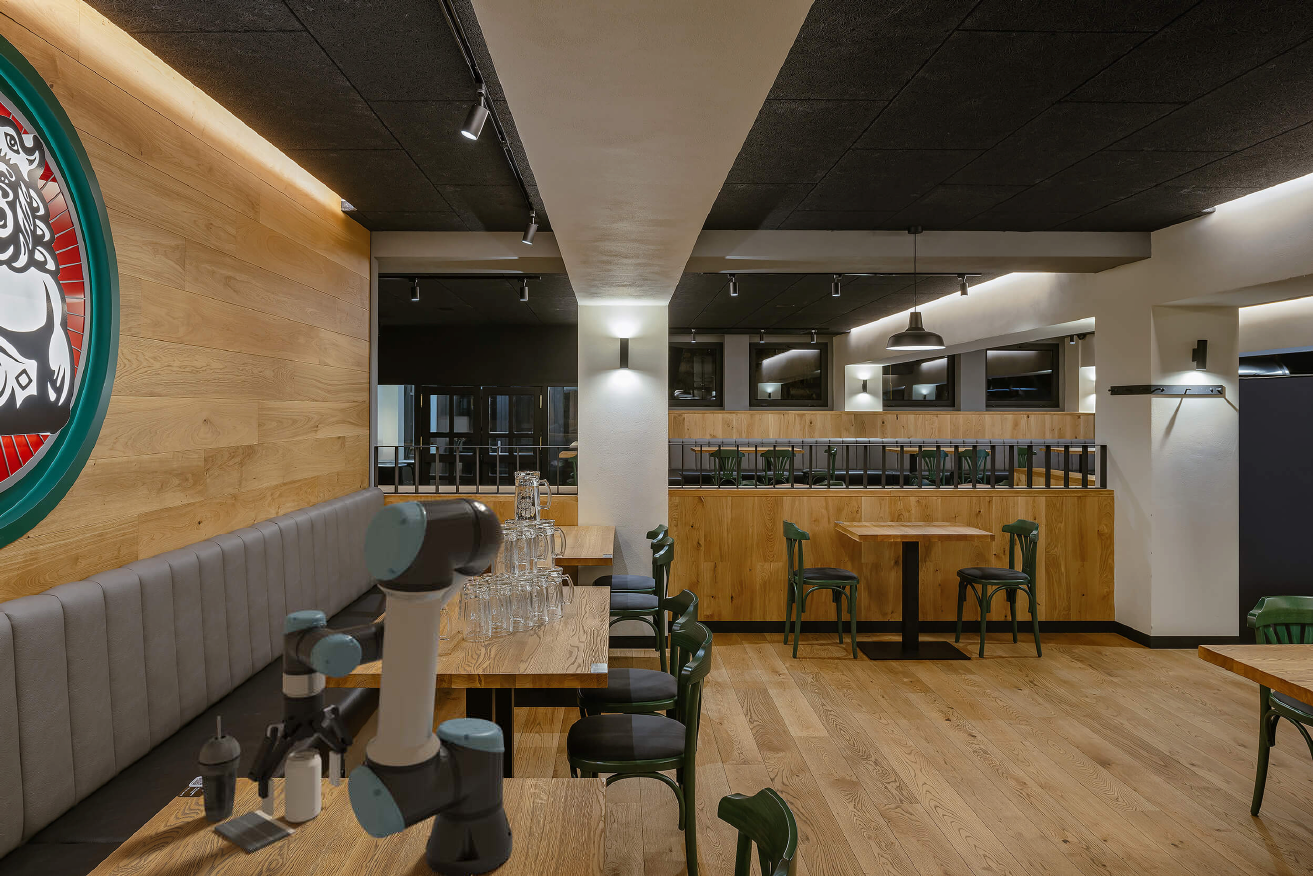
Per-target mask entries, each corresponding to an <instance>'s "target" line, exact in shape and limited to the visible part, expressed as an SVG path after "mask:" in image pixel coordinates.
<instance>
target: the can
mask: <svg viewBox="0 0 1313 876" xmlns="http://www.w3.org/2000/svg"><path fill="white" fill-rule="evenodd" d="M321 810H322V757H321V756H320V751H319V750H318V749H316V748H301V749H298V750H297V749H296V750H295V751H292V752H291V753H289V754H288V755H287V760H286V762H285V765H284V819H285V821H287V822H289V823H292V824H300V823H301V824H302V823H305V822H308V821H312V820H314V819H315V818H317V817H318V815H319V814H320V813H321Z"/></svg>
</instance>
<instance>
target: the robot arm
mask: <svg viewBox="0 0 1313 876" xmlns="http://www.w3.org/2000/svg"><path fill="white" fill-rule="evenodd" d="M503 536H504V535H503V529H502V524H501V521H500V519H499V517H498V514H496V512H495V511H493V509H492V508H491V507H489V505H487V504H486V503H484V502H482V501H481V500H477V499H474V498H470V497H457V498H450V499H449V498H447V499H430V500H429V499H426V500H407V501H404V502H397V503H396V502H395V503H390V504H387V505H385V506H382V507H381V508H380V509H378V511H377V512H376V513H375V514H374V515H373V516H372V518H371V520H370V522H369V524H368V526H367V528H366V532H365V535H364V540H363V541H364V542H363V557H364V558H365V560H366V561H365V567H366V568H367V571H368V573H369V574H370V575H371V576H372V577H373V578H375V579H377V583H376V584H377V587H378V588H379V589H380V590H381V591H383V593H384V594H385V595H386V596H385V597H386V599H385V600H386V601H385V611H384V612H385V613H384V616H383V618H382V619H381V620H378V621H375V622H370V623H366V624H365V623H364V624H361V625H357V626H356V625H355V626H351V627H347V628H341V629H337V630H332V629H329V628H327V624H328V623H327V620H326V619H327V618H326V614H325V613H324V612H323V611H321V610H316V609H315V610H311V609H310V610H309V609H308V610H300V611H296V612H291V613H289V614H288V615H286V616H285V618H284V619H283V620H284V621H283V632H282V639H283V640H282V644H283V645H282V646H283V647H282V652H283V653H282V666H283V667H282V668H283V670H282V692H283V693H284V694H283V695H282V701H281V702H282V706H281V707H282V710H281V711H282V720H281V723H278V724H272V723H269V724H268V723H267V724H266V726H265V729H264V737H263V739H262V742H261V744H260V746H259V749H258V750H257V753H256V755H255V758H254V759H253V762H252V764H251V766H250V769H249V770H248V772H247V776H246V778H247V779H248V780H250V781H251V782H253V783H257V795H258V797H259V798H261V800H262V802H261V803H262V805H261V811H262V812H264V813H265V814H267V815H269V816H271V817H272V816H273V815H274V813H275V812H274V810H275V809H274V808H275V807H274V805H275V801H274V800H275V798H274V797H275V779H273V778H272V777H273V775H274V773H275V771H276V770H277V769H278V768H279V765H280V764H281V763H282V761H283V759H284V758H285V756H286V755H287V753H288V752H289V750H290V749H291V748H292V747H294V746H295V745H296V743H297V742H298V743H300V742H302V741H304V740H305V739H310V738H313V737H314V735H317V736H318V737H319V738H320V739H322V740H323V741H324V742H325V743H326V744H327V745H329V746H330V748H332V749H333V750H331V751H329V765H328V766H329V768H328V769H329V772H328V773H329V774H328V777H329V778H328V780H329V781H328V783H329V785H331V786H333V787H336V788H338V787H340V786H341V768H343V767H344V765H345V762H344V759H345V756H344V755H345V754H346V753H347V752H348V748H349V747H352V746H354V741H353V739H352V737H351V735H350V733H349V731H348V729H347V727H346V725H345V724H344V722H343V720H342V718H341V714H340V708H339V707H338V706H336V705H333V704H331V703H330V704H328V705H327V706H326V708H325V704H326V703H325V700H326V698H325V697H326V696H325V695H326V692H325V689H324V688H325V687H326V676H327V677H331V678H338V679H339V678H343V677H347V676H348V675H350V674H351V673H352V672H353V671H355V670H356V669H357V668H358V667H360V666H363V665H368V664H370V663H371V664H372V663H374V662H380V661H381V670H380V671H381V672H380V688H379V702H378V714H377V716H378V717H377V728H376V729H377V732H376V735H375V736H374V737H373V738H372V739H370V741H368V743H367V745H366V749H365V758H364V760H365V762H364V764H359V765H357V766H356V767H355V768H353V769H352V771H351V772H350V773H349V776H348V781H347V789H348V791H347V792H348V798H349V802H350V805H351V808H352V811H353V814H354V816H355V818H356V820H357V822H358V823H359V825H360V827H361V828H362V829H363V831H365V832H366V833H367V834H368V836H371V837H372V838H375V839H385V838H387V837H390V836H392V835H394V834H395V835H396V834H398V833H399V834H401V833H403V832H404V831H405V830H407V829H409V828H411V827H413V826H415V825H417V824H420V823H421V822H423V821H427V820H428V819H431V818H433V817H435V818H433V819H434V820H433V824H432V827H431V832H430V835H429V836H428V839H427V841H426V845H425V863H426V865H427V867H428V868H429V869H430V870H431V871H432V872H434V873H436V874H438V875H441V876H471V875H476V876H478V875H477V874H480V875H483V874H485V872H486V873H488V871H489V872H491V871H493V870H494V869H497V868H498V867H500V866H501V865H502V864H501V863H503V862H504V861H505V862H506V861H507V860H508V859H509V858H510V856H511V855H510V854H512V852H513V833H512V830H511V827H510V824H509V820H508V816H507V814H506V810H505V808H504V754H505V747H504V734H503V730H502V729H501V727H500V726H499V725H498V724H497V723H495V722H493V721H489V720H485V719H481V718H471V717H466V718H465V717H464V718H453V719H450V720H448V719H447V720H445V721H443V722H441V723H440V724H439V726H438V727H437V728H436V732H435V733H434V732H433V725H434V724H433V723H434V721H433V720H434V711H435V710H434V708H435V699H436V698H435V695H436V685H437V684H436V683H437V670H438V658H439V657H438V654H439V643H440V642H439V641H440V628H441V616H442V615H441V614H442V610H443V609H444V608H445V607H446V606H447V604H448V603H450V601H451V600H452V599H453V598H454V597H455V596H456V594H457V593H458V592H460V590H461V589H462V588H463V587H464V586H465V585H466V584H467V582H468V581H469V580H470V579H471V578H475V577H478V576H480V575H482V574H483V573H484V572H485V571H486V570H487V569H488V568H489V567H490V565H492V564H493V562H494V561H495V559H496V558H497V556H498V554H499V553H500V550H501V548H502V543H503ZM326 718H327V720H328V721H329V723H330V724H331V726H332V728H333V730H334V731H335V733H336V735H337V737H338V739H339V740H338V739H337V738H335V737H334V736H333V734H331V733H330V732H329V731H328V730H327V729H326V728H325V727H324V726H323V724H322V723H323V721H324V720H325V719H326ZM281 732H283V733H282V734H281ZM278 737H279V739H278ZM277 741H278V743H277ZM506 859H507V860H506ZM505 862H504V863H505ZM504 863H503V864H504ZM500 864H501V865H500ZM499 865H500V866H499ZM496 867H497V868H496ZM492 869H493V870H492ZM490 870H491V871H490ZM482 873H483V874H482Z"/></svg>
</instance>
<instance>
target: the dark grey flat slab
mask: <svg viewBox="0 0 1313 876" xmlns="http://www.w3.org/2000/svg"><path fill="white" fill-rule="evenodd" d="M214 831H215V832H217V833H219V834H220V835H221V836H223V837H225V838H226V839H228V840H229V841H231V842H232V843H234V844H235V845H237V846H239V847H240V848H241V849H243V850H245V851H246V852H248V853H250V854H253V853H254V852H257V851H259V850H260V849H263V848H265V847H267V846H270V845H273V844H274V843H276V842H279V841H281V840H283V839H285V838H287V837H289V836H291V835H294V834H296V833H297V830H294V829H293V828H291V827H290V826H288V825H286V824H285V823H283V822H281V821H279V820H278V819H276V818H274V817H272V815H271V816H269V815H267V814H266V813H264V812H262V810H260V809H257V810H255V811H248V812H247V813H244V814H243V815H239V816H237V817H235V818H232V819H230V820H228V821H224V822H223V823H221V824H218V825H215V826H214Z"/></svg>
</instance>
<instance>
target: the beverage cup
mask: <svg viewBox="0 0 1313 876" xmlns="http://www.w3.org/2000/svg"><path fill="white" fill-rule="evenodd" d="M216 723H217V724H216V725H217V736H214V737H213V738H210V739H209V740H208V741H206V743H205V744H204V745H203V747H202V748H201V750H200V753H199V757H198V762H197V763H198V764H199V765H198V766H199V767H198V768H199V772H200V773H201V784H202V796H203V805H204V812H205V813H204V814H205V820H206V821H207V822H209V823H210V822H211V823H213V822H214V823H215V822H221V821H224V820H226V819H229V818H230V817H232V816H233V813H234V812H233V811H234V806H235V797H236V787H237V778H238V777H237V776H238V768H239V764H240V759H241V756H242V751H241V747H240V744H239V742H238V741H237V739H235V737H232V736H230V735H227V734H225V735H224V734H223V735H222V733H221V716H220V715H218V716H217V718H216Z"/></svg>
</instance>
